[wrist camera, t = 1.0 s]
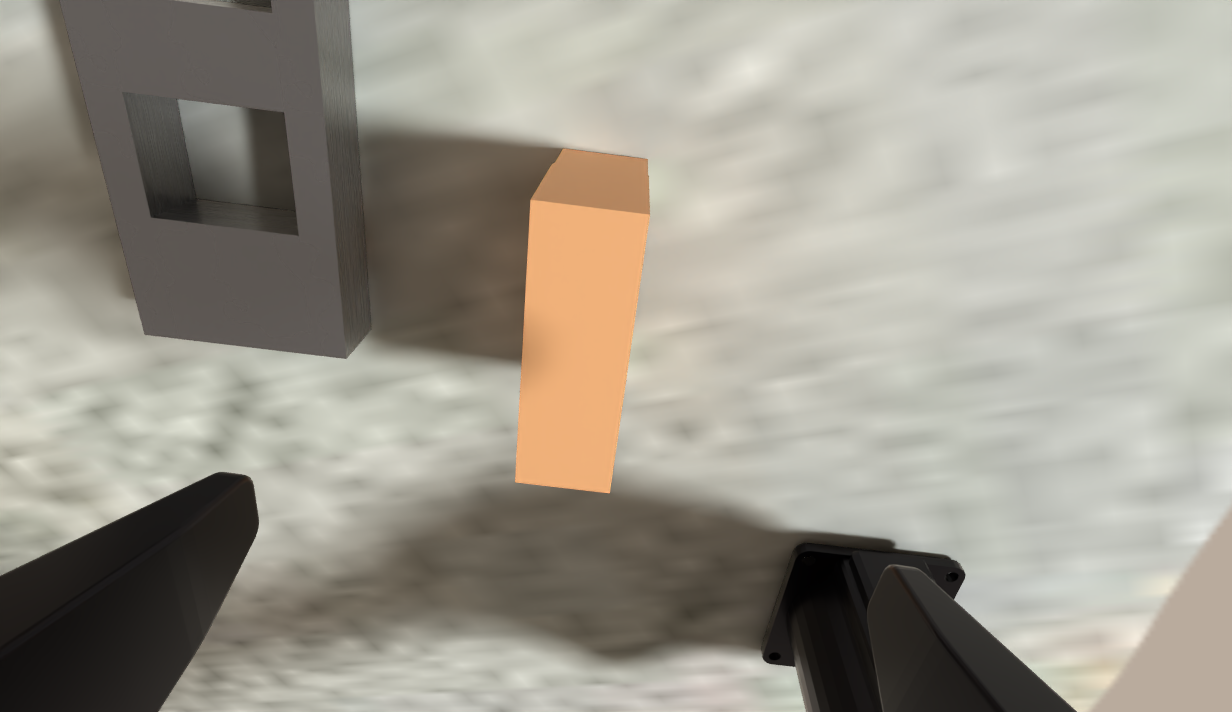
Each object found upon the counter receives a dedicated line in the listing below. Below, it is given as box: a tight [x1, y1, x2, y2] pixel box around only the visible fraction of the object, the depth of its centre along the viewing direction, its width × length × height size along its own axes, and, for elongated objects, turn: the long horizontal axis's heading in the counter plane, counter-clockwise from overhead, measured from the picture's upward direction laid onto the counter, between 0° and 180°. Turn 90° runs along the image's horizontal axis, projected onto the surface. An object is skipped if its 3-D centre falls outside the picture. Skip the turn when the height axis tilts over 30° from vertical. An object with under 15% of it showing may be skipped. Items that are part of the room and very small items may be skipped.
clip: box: [515, 149, 650, 493], centre depth 17 cm, size 7×2×6 cm, turn 173°
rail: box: [59, 0, 371, 359], centre depth 16 cm, size 16×6×2 cm, turn 173°
